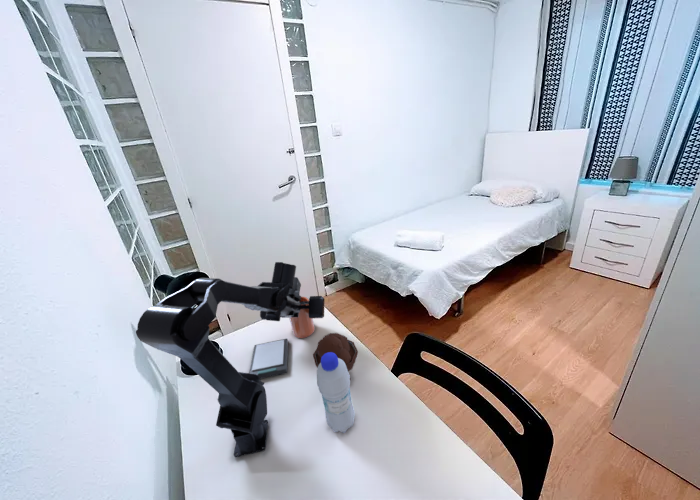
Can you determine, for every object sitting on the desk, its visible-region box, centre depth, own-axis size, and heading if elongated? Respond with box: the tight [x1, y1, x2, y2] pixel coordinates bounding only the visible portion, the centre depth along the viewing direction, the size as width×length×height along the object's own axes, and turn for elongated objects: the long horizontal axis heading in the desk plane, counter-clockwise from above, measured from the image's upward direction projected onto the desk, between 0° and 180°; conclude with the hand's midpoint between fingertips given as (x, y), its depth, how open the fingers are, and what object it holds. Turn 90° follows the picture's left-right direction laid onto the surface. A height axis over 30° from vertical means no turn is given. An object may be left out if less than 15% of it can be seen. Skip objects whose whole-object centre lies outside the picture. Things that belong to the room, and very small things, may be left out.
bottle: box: [316, 352, 355, 434], centre depth 58 cm, size 7×7×20 cm
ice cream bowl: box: [312, 332, 359, 381], centre depth 69 cm, size 11×11×15 cm
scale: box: [248, 338, 289, 380], centre depth 80 cm, size 12×10×2 cm
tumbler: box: [288, 296, 316, 339], centre depth 88 cm, size 7×7×11 cm
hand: (301, 311), depth 89 cm, fingers open, 9 cm apart
